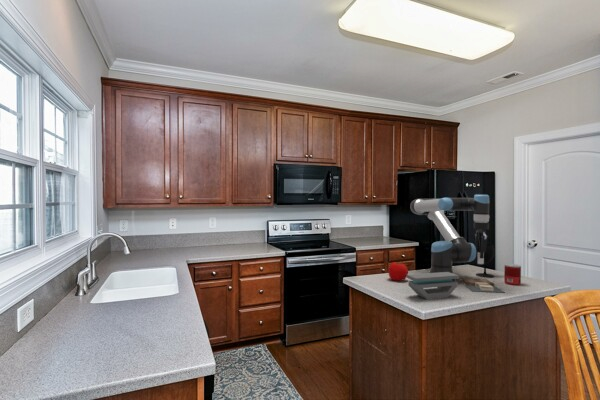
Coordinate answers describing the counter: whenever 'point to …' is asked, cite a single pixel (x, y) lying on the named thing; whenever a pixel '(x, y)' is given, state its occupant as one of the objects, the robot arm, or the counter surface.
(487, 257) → the wine glass
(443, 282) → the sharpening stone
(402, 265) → the tomato
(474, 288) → the rubber mat
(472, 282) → the walnut deck
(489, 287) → the birch tile
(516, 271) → the canned food
